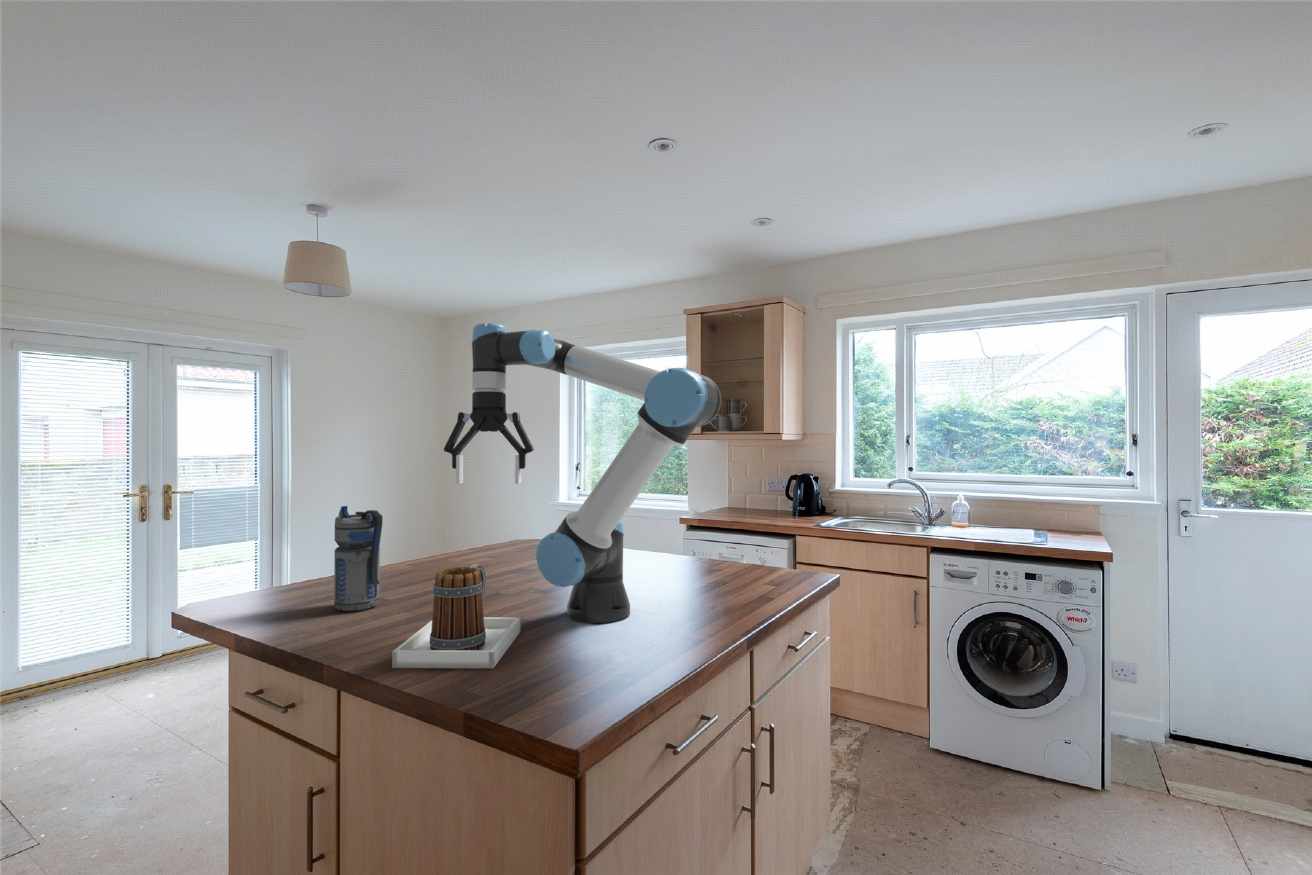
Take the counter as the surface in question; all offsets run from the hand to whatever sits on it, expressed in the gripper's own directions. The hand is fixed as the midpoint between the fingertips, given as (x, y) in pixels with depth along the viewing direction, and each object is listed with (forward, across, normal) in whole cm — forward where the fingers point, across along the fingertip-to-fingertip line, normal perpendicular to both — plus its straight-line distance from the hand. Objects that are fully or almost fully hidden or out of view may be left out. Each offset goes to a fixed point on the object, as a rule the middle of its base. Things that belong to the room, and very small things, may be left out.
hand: (488, 483), depth 142 cm
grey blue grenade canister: (+32, +35, -10) cm, 48 cm away
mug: (+31, 0, +19) cm, 36 cm away
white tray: (+32, 0, +19) cm, 37 cm away
